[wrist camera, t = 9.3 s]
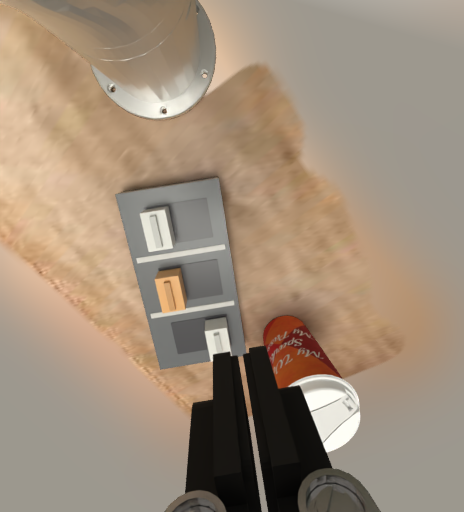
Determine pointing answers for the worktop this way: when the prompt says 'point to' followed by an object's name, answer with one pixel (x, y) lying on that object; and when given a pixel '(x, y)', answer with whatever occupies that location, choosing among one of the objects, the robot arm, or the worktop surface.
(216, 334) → the switch
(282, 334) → the coffee cup
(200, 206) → the switch panel
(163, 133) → the worktop surface
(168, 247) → the switch
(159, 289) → the switch
